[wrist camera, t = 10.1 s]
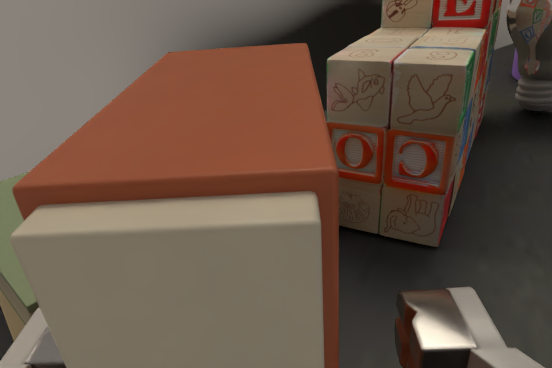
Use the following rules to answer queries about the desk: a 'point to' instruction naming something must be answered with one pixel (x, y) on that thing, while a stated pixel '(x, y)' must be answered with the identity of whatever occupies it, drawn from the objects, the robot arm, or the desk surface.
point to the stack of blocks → (409, 114)
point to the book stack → (13, 264)
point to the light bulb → (532, 51)
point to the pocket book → (192, 220)
